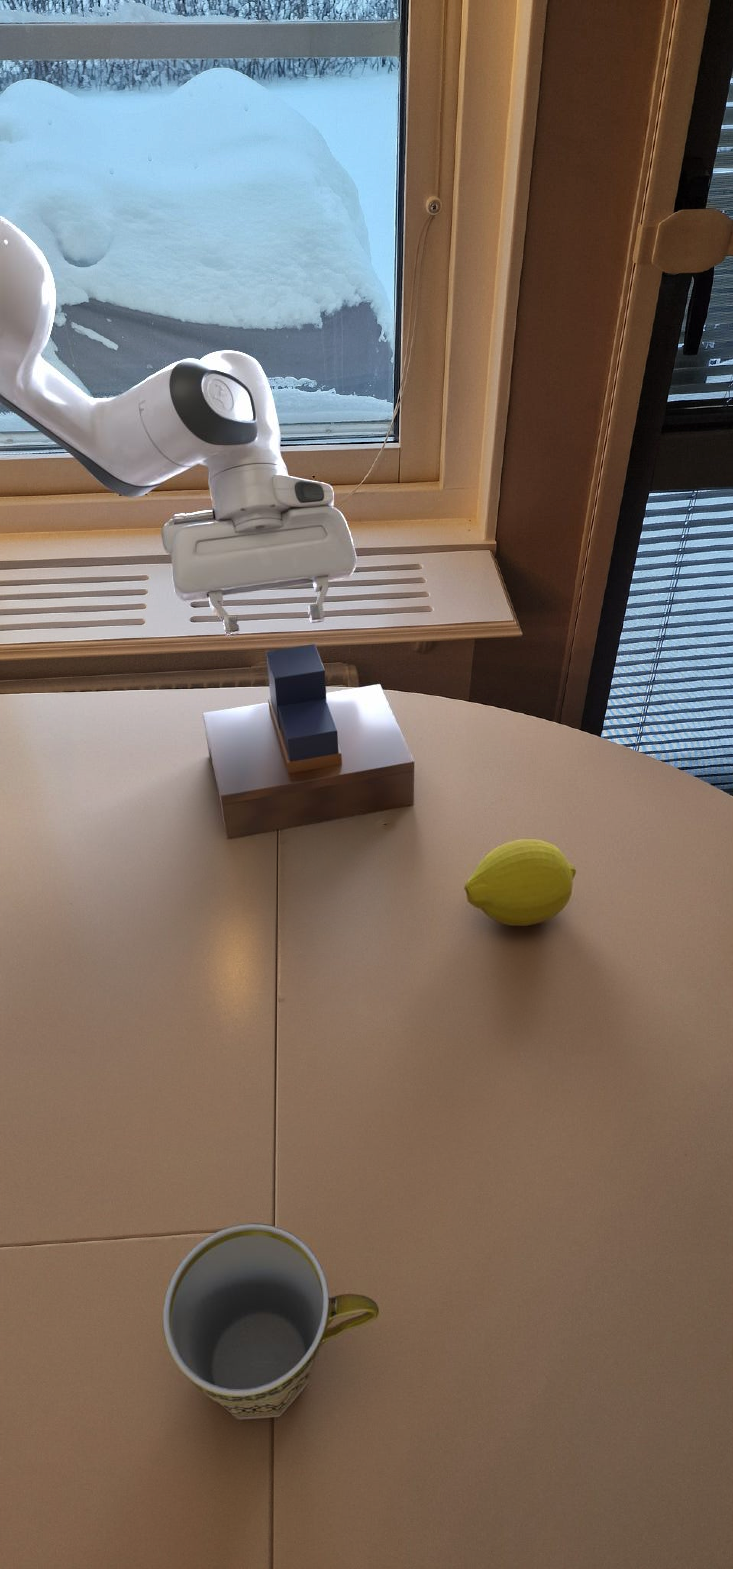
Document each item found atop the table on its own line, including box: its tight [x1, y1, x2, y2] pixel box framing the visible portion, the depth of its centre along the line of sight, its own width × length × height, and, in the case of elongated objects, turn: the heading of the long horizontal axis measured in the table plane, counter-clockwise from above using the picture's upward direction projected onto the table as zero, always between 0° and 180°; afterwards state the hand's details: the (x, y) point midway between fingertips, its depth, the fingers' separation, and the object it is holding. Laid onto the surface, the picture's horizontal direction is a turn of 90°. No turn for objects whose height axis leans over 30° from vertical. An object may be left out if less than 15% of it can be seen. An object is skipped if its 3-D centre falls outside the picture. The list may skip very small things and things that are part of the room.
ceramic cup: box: [162, 1222, 380, 1420], centre depth 66 cm, size 13×10×10 cm
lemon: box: [463, 838, 577, 927], centre depth 96 cm, size 11×8×8 cm
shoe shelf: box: [202, 683, 415, 840], centre depth 111 cm, size 20×14×6 cm
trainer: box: [265, 643, 342, 774], centre depth 107 cm, size 11×6×8 cm, turn 14°
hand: (275, 627), depth 113 cm, fingers open, 8 cm apart
